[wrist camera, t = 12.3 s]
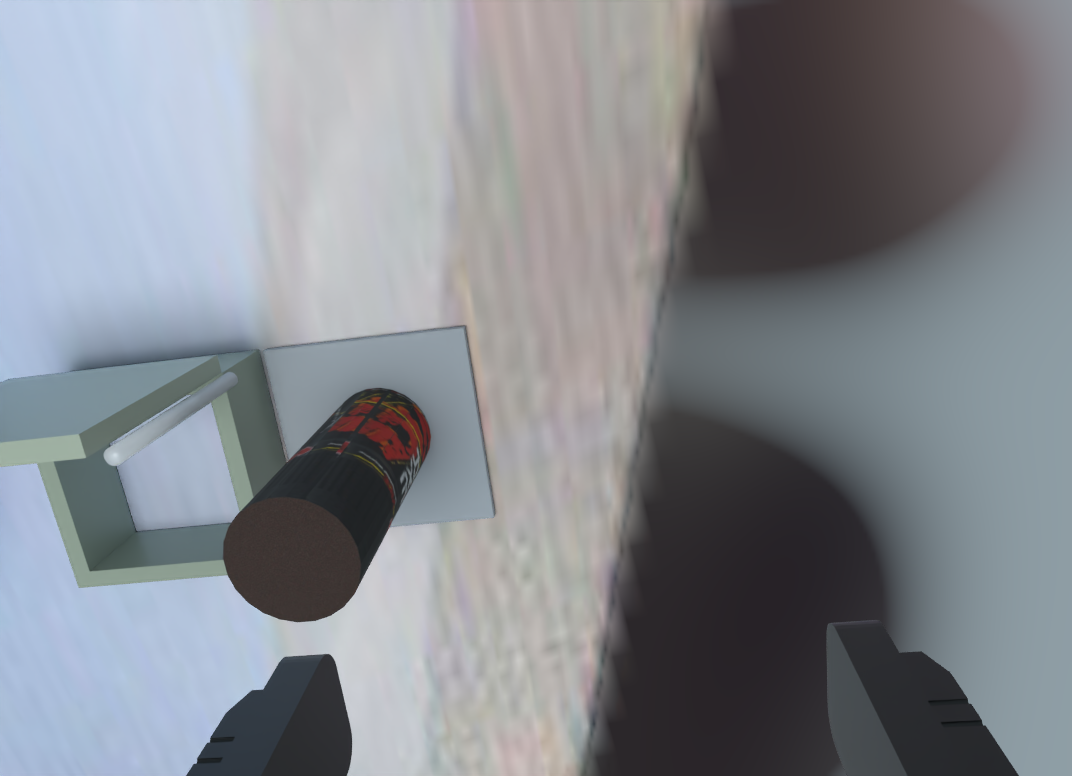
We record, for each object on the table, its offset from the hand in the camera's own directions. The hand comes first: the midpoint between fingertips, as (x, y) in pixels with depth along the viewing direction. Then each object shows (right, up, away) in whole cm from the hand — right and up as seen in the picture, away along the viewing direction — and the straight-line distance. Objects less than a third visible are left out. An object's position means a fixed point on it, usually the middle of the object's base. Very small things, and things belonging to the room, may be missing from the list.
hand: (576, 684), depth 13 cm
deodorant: (-10, +2, +35) cm, 37 cm away
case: (-22, +1, +37) cm, 43 cm away
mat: (-10, +2, +35) cm, 37 cm away
